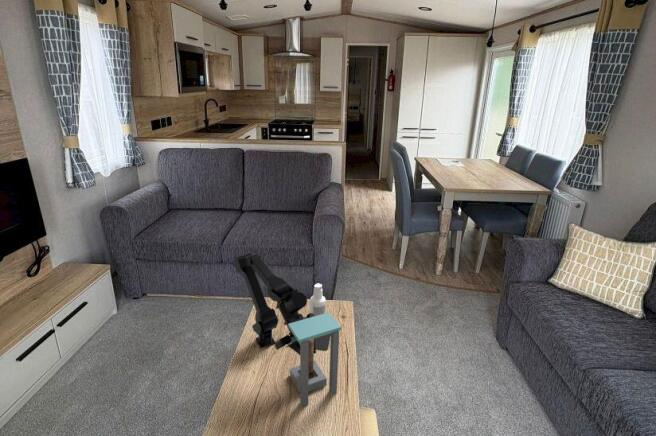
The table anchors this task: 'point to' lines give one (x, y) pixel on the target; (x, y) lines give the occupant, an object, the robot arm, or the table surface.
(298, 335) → the teal topped stool
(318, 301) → the spray bottle
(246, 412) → the table surface
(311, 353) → the peg
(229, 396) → the table surface
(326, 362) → the table surface
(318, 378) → the socket
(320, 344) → the phone
